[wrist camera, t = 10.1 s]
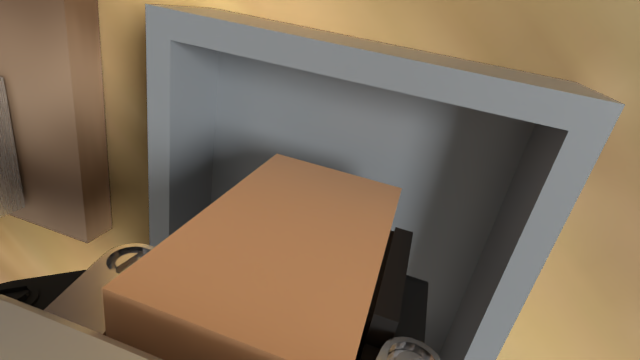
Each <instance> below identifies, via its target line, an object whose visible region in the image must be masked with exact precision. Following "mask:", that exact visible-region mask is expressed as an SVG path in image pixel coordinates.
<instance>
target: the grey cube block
mask: <svg viewBox="0 0 640 360" xmlns="http://www.w3.org/2000/svg"><path fill="white" fill-rule="evenodd" d="M24 207H25V201H24V196H23V190H22V184H21V178H20V172H19V166H18V160H17V154H16V149H15V143H14V137H13V131H12V125H11V119H10V113H9V107H8V102H7V96H6V90H5V84H4V78H3V77H1V76H0V218H1V217H3V216H6V215H8V214H10V213H13V212H15V211H17V210H19V209H22V208H24Z"/></svg>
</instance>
